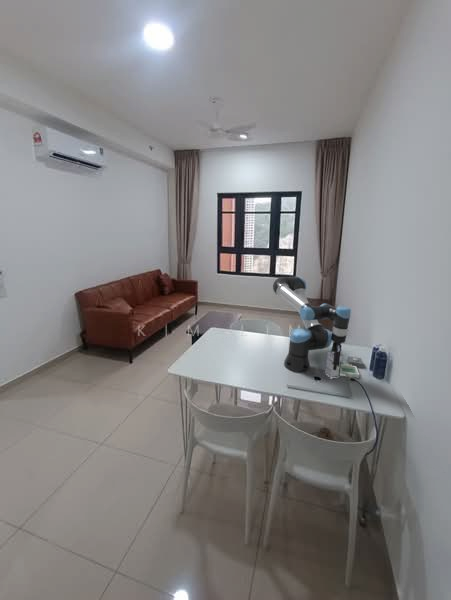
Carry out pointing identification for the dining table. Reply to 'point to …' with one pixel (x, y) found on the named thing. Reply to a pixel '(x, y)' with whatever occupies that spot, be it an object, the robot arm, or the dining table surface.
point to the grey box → (355, 362)
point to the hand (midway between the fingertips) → (332, 370)
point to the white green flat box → (349, 371)
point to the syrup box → (329, 364)
